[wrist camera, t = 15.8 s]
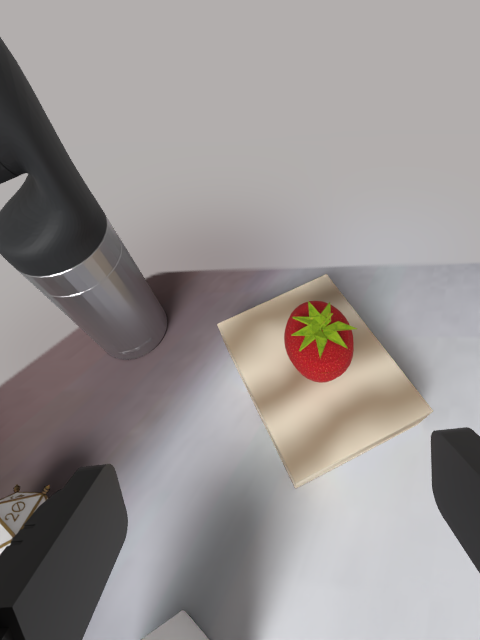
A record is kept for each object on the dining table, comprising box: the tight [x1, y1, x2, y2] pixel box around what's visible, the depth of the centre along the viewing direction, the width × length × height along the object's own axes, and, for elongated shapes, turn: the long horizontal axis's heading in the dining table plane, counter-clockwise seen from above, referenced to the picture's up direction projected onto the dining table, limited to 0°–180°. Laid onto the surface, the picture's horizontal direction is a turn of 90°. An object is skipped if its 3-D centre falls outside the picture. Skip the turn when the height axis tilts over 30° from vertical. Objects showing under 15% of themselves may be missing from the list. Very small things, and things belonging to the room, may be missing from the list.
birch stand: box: [217, 274, 433, 489], centre depth 37 cm, size 18×14×5 cm
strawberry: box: [284, 301, 357, 383], centre depth 31 cm, size 6×8×10 cm
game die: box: [0, 485, 50, 554], centre depth 32 cm, size 9×8×10 cm
